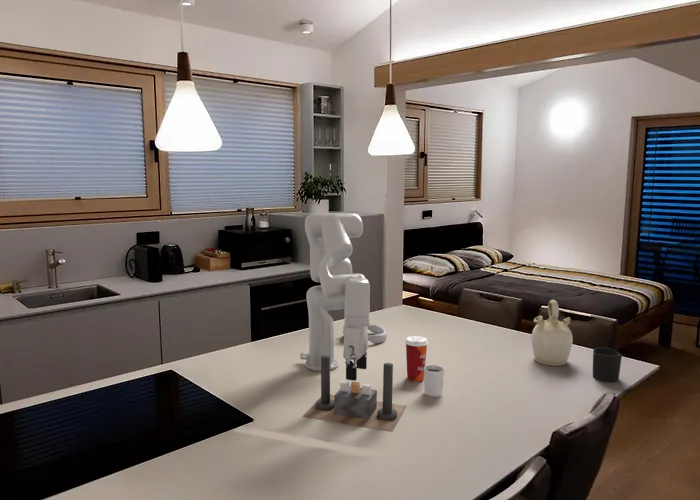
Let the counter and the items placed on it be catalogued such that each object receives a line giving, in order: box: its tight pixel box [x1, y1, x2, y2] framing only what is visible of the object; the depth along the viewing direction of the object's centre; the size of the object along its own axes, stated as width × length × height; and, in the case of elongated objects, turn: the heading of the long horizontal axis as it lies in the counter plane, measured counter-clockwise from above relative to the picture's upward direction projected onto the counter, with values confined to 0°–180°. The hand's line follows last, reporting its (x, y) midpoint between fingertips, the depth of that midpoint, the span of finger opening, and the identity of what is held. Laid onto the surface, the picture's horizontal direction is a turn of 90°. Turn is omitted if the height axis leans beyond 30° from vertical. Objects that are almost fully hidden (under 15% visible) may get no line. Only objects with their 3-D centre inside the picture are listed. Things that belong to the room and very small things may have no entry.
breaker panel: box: [302, 385, 408, 433], centre depth 163 cm, size 28×18×8 cm, turn 71°
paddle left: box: [339, 379, 350, 392], centre depth 163 cm, size 2×1×3 cm, turn 71°
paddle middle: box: [350, 381, 361, 394], centre depth 162 cm, size 2×1×3 cm, turn 71°
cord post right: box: [377, 362, 397, 421], centre depth 159 cm, size 6×6×16 cm
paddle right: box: [361, 382, 372, 395], centre depth 161 cm, size 2×1×3 cm, turn 71°
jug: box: [531, 299, 574, 367], centre depth 212 cm, size 15×16×25 cm
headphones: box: [342, 323, 388, 344], centre depth 240 cm, size 18×8×20 cm
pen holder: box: [592, 347, 623, 383], centre depth 195 cm, size 9×9×10 cm
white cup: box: [423, 364, 445, 398], centre depth 177 cm, size 7×7×10 cm
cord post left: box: [315, 355, 334, 411], centre depth 166 cm, size 6×6×16 cm
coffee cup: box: [404, 335, 429, 383], centre depth 193 cm, size 8×8×15 cm
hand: (356, 374), depth 162 cm, fingers open, 9 cm apart
